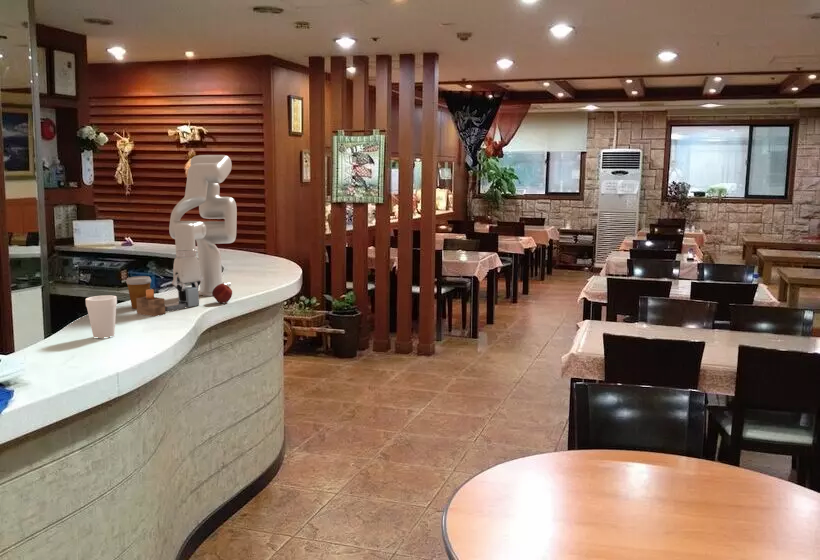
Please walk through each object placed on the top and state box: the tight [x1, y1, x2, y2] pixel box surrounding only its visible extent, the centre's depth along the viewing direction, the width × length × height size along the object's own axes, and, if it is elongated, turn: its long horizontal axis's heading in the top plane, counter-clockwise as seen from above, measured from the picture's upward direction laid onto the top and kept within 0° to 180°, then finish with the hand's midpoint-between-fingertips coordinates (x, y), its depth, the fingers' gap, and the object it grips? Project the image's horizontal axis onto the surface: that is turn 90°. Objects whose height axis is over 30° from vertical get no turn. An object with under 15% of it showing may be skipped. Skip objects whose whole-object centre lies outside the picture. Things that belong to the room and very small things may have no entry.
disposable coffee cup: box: [125, 275, 152, 310], centre depth 293 cm, size 10×10×12 cm
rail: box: [165, 301, 188, 312], centre depth 291 cm, size 15×4×2 cm, turn 147°
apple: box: [212, 284, 233, 304], centre depth 301 cm, size 7×8×8 cm
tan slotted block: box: [136, 296, 166, 317], centre depth 280 cm, size 5×10×6 cm, turn 57°
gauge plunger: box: [146, 288, 155, 300], centre depth 279 cm, size 3×3×4 cm
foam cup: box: [85, 294, 118, 338], centre depth 242 cm, size 10×9×13 cm
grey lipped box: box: [177, 286, 200, 308], centre depth 295 cm, size 5×6×7 cm
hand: (188, 299), depth 295 cm, fingers closed on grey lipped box, 5 cm apart
